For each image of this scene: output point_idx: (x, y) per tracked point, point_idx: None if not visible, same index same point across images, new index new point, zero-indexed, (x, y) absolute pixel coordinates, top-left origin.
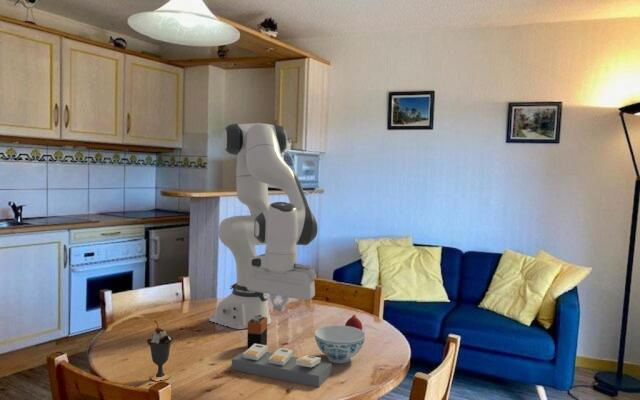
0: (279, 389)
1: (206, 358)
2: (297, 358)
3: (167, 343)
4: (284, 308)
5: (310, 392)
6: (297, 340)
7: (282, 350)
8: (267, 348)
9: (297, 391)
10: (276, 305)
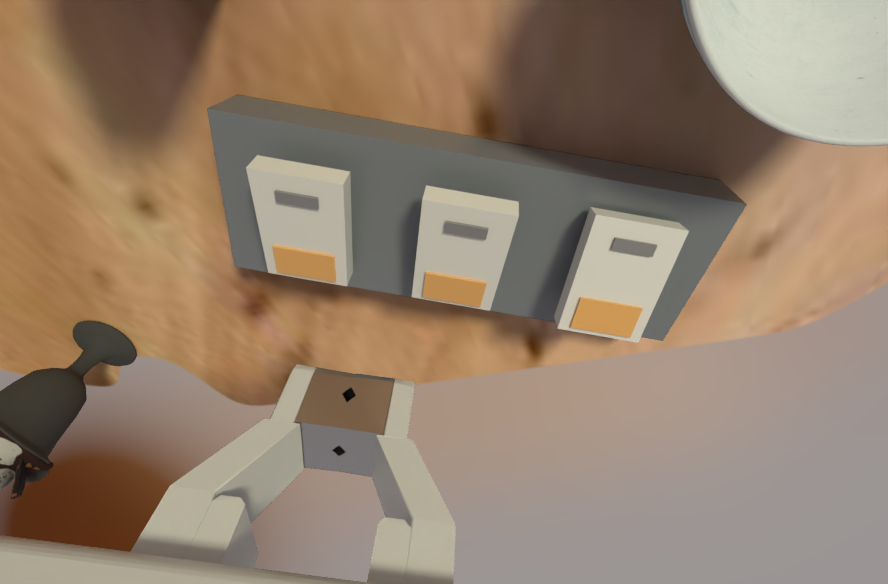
0: (502, 344)
1: (66, 153)
2: (537, 183)
3: (49, 469)
4: (411, 402)
5: (616, 344)
6: None
7: (453, 231)
8: (347, 188)
9: (568, 346)
10: (327, 463)
